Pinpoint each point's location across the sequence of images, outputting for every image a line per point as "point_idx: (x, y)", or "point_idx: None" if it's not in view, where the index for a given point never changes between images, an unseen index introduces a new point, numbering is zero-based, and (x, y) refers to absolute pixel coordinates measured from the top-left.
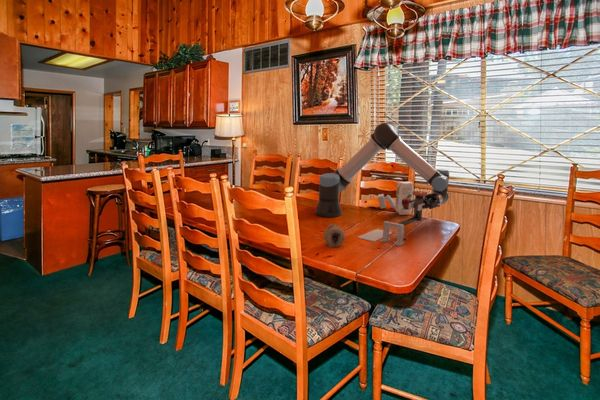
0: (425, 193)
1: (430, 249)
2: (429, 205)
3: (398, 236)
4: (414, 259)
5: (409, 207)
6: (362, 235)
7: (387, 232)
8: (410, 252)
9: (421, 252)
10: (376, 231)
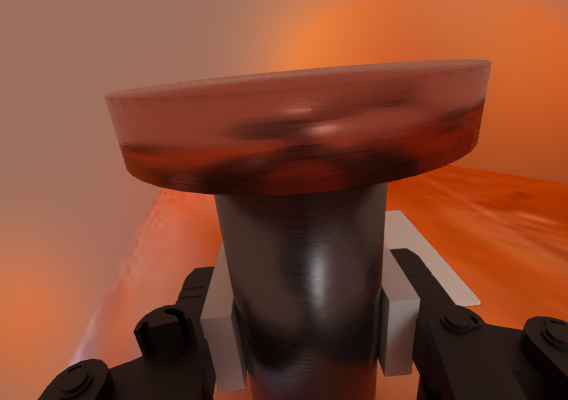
0: (149, 86)
1: (147, 262)
2: (112, 372)
3: None
4: (183, 205)
5: None
6: (407, 222)
7: None
8: (204, 221)
9: (174, 234)
10: (434, 275)
